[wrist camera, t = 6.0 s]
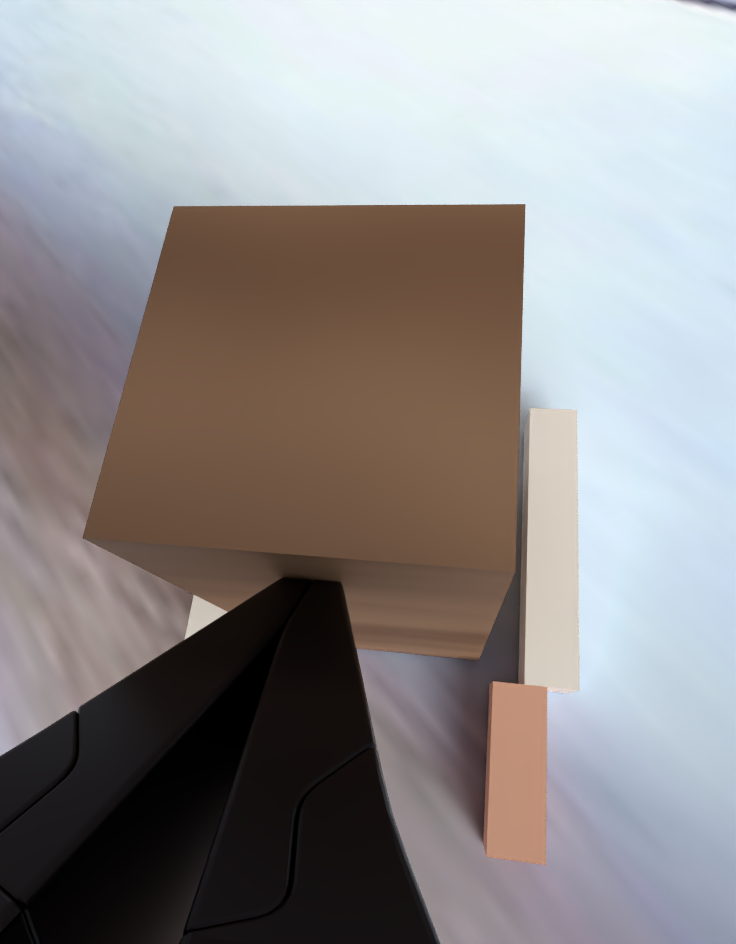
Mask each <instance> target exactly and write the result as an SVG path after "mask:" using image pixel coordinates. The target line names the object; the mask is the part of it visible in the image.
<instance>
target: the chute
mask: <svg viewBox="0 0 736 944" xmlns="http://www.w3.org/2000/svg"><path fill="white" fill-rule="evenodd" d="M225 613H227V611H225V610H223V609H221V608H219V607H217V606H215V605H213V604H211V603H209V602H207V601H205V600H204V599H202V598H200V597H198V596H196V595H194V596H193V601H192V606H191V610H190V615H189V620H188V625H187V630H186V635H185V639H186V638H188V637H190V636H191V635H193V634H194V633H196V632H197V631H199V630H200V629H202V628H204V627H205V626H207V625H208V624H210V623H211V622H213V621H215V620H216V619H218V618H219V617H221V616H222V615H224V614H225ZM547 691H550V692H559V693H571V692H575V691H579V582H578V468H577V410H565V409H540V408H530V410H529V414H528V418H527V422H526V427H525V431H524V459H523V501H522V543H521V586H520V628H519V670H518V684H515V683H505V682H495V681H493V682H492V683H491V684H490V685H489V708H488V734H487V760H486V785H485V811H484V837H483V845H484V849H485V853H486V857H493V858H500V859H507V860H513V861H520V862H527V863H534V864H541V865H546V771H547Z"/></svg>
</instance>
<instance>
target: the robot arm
mask: <svg viewBox="0 0 736 944" xmlns="http://www.w3.org/2000/svg"><path fill="white" fill-rule="evenodd" d="M0 944H440V942H439V939H438V936H437V934H436V931H435V929H434V926H433V923H432V921H431V918H430V916H429V913H428V910H427V908H426V905H425V902H424V900H423V897H422V895H421V892H420V889H419V887H418V884H417V882H416V879H415V876H414V874H413V871H412V869H411V866H410V863H409V861H408V858H407V855H406V852H405V849H404V846H403V843H402V840H401V837H400V834H399V831H398V828H397V825H396V822H395V819H394V816H393V813H392V809H391V805H390V802H389V798H388V794H387V790H386V786H385V782H384V778H383V773H382V768H381V764H380V759H379V754H378V751H377V749H376V741H375V736H374V732H373V727H372V722H371V717H370V712H369V708H368V703H367V698H366V693H365V688H364V684H363V679H362V674H361V669H360V664H359V660H358V655H357V650H356V645H355V640H354V636H353V631H352V626H351V621H350V616H349V612H348V607H347V602H346V597H345V592H344V588H343V585H342V583H341V582H334V581H323V580H314V581H313V582H311V581H310V580H307V579H299V578H287V577H283V578H281V579H279V580H277V581H275V582H274V583H272V584H271V585H269V586H268V587H266V588H265V589H263V590H261V591H260V592H258V593H257V594H255V595H254V596H252V597H250V598H249V599H247V600H246V601H244V602H243V603H241V604H240V605H238V606H236V607H235V608H233V609H232V610H230V611H229V612H227V613H225V614H224V615H222V616H221V617H219V618H218V619H216V620H215V621H213V622H211V623H210V624H208V625H207V626H205V627H204V628H202V629H200V630H199V631H197V632H196V633H194V634H193V635H191V636H190V637H188V638H186V639H185V640H183V641H182V642H180V643H179V644H177V645H175V646H174V647H172V648H171V649H169V650H168V651H166V652H165V653H163V654H161V655H160V656H158V657H157V658H155V659H154V660H152V661H150V662H149V663H147V664H146V665H144V666H143V667H141V668H140V669H138V670H136V671H135V672H133V673H132V674H130V675H129V676H127V677H125V678H124V679H122V680H121V681H119V682H118V683H116V684H115V685H113V686H111V687H110V688H108V689H107V690H105V691H104V692H102V693H100V694H99V695H97V696H96V697H94V698H93V699H91V700H89V701H88V702H86V703H85V704H83V705H82V706H80V707H79V709H78V713H77V712H76V711H72V712H70V713H69V714H67V715H66V716H64V717H63V718H61V719H59V720H58V721H56V722H55V723H53V724H52V725H50V726H48V727H47V728H45V729H44V730H42V731H41V732H39V733H37V734H36V735H34V736H32V737H31V738H29V739H27V740H26V741H24V742H23V743H21V744H19V745H18V746H16V747H14V748H13V749H11V750H10V751H8V752H6V753H5V754H3V755H1V756H0Z"/></svg>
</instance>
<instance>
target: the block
mask: <svg viewBox="0 0 736 944" xmlns="http://www.w3.org/2000/svg"><path fill="white" fill-rule="evenodd" d="M524 235H525V204H502V205H338V206H174V208H173V211H172V215H171V218H170V222H169V226H168V229H167V233H166V237H165V240H164V244H163V247H162V251H161V255H160V258H159V262H158V266H157V269H156V273H155V277H154V280H153V284H152V287H151V291H150V295H149V298H148V302H147V306H146V309H145V313H144V316H143V320H142V324H141V327H140V331H139V335H138V338H137V342H136V346H135V349H134V353H133V356H132V360H131V364H130V367H129V371H128V375H127V378H126V382H125V385H124V389H123V393H122V396H121V400H120V404H119V407H118V411H117V415H116V418H115V422H114V425H113V429H112V433H111V436H110V440H109V444H108V447H107V451H106V455H105V458H104V462H103V465H102V469H101V473H100V476H99V480H98V484H97V487H96V491H95V494H94V498H93V502H92V505H91V509H90V513H89V516H88V520H87V524H86V527H85V531H84V534H83V538H84V539H86V540H88V541H90V542H92V543H94V544H95V545H97V546H99V547H101V548H103V549H105V550H107V551H109V552H111V553H113V554H115V555H117V556H119V557H121V558H123V559H125V560H127V561H129V562H131V563H133V564H135V565H137V566H139V567H141V568H143V569H145V570H147V571H149V572H150V573H152V574H154V575H156V576H158V577H160V578H162V579H164V580H166V581H168V582H170V583H172V584H174V585H176V586H178V587H180V588H182V589H184V590H186V591H188V592H190V593H192V594H194V595H196V596H198V597H200V598H202V599H204V600H205V601H207V602H209V603H211V604H213V605H215V606H217V607H219V608H221V609H223V610H225V611H227V612H229V611H230V610H232V609H233V608H235V607H236V606H238V605H240V604H241V603H243V602H244V601H246V600H247V599H249V598H250V597H252V596H254V595H255V594H257V593H258V592H260V591H261V590H263V589H265V588H266V587H268V586H269V585H271V584H272V583H274V582H275V581H277V580H279V579H281V578H283V577H287V578H299V579H307V580H310V581H311V582H313V581H314V580H323V581H334V582H341V583H342V585H343V588H344V592H345V597H346V602H347V607H348V612H349V616H350V621H351V626H352V631H353V636H354V640H355V645H356V648H358V649H368V650H378V651H388V652H398V653H408V654H418V655H428V656H438V657H448V658H458V659H468V660H478V661H479V658H480V656H481V653H482V651H483V649H484V646H485V644H486V642H487V639H488V637H489V634H490V632H491V630H492V627H493V625H494V622H495V620H496V618H497V615H498V613H499V610H500V608H501V606H502V603H503V601H504V598H505V596H506V594H507V591H508V589H509V586H510V584H511V582H512V579H513V577H514V574H515V572H516V535H517V498H518V460H519V423H520V385H521V347H522V310H523V272H524Z"/></svg>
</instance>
